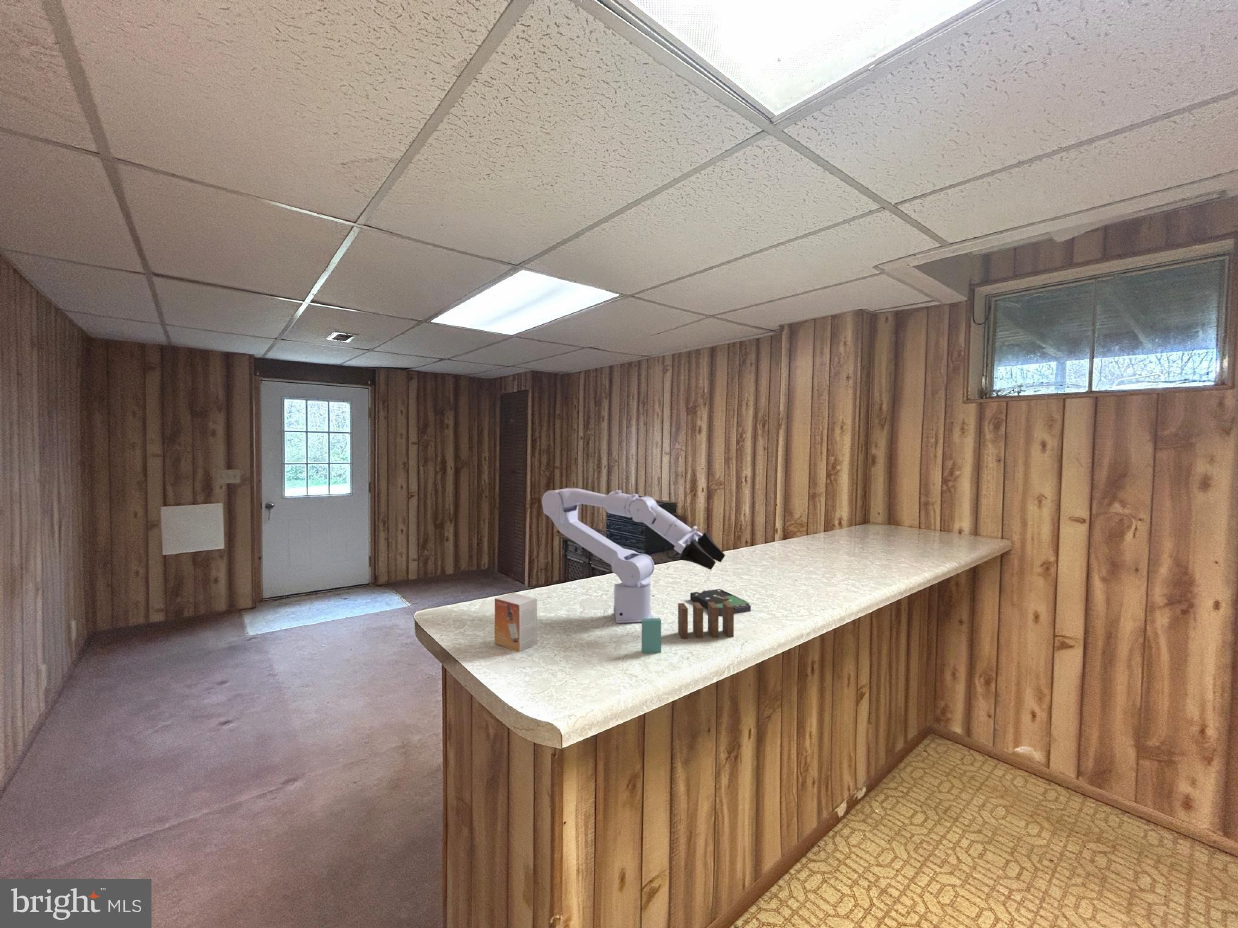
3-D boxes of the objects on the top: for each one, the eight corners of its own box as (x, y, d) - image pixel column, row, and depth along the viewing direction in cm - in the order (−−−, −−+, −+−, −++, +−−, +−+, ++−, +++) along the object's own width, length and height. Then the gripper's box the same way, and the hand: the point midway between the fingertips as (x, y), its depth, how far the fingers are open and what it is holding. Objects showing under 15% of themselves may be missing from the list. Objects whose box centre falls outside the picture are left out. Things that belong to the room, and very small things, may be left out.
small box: (494, 644, 111) (493, 597, 111) (512, 636, 116) (512, 591, 115) (519, 652, 107) (518, 604, 106) (537, 644, 111) (537, 597, 111)
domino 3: (712, 637, 114) (712, 607, 114) (707, 631, 118) (707, 602, 118) (718, 637, 115) (718, 607, 114) (713, 630, 119) (713, 601, 118)
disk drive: (689, 602, 142) (719, 618, 128) (689, 592, 142) (719, 607, 128) (719, 597, 146) (751, 612, 132) (719, 588, 146) (751, 602, 132)
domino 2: (697, 638, 114) (697, 608, 114) (693, 631, 118) (692, 602, 118) (703, 638, 114) (703, 607, 114) (698, 631, 118) (698, 602, 118)
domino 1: (681, 638, 114) (681, 608, 113) (678, 632, 118) (678, 603, 117) (687, 638, 114) (687, 608, 114) (683, 632, 118) (683, 602, 118)
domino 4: (727, 636, 115) (727, 607, 114) (722, 630, 119) (722, 601, 118) (733, 636, 115) (733, 606, 115) (728, 630, 119) (728, 601, 119)
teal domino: (661, 652, 107) (661, 620, 106) (642, 653, 106) (642, 620, 106) (659, 649, 108) (659, 617, 108) (641, 650, 108) (641, 618, 107)
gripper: (668, 520, 115) (717, 555, 110) (689, 511, 128) (735, 542, 123) (654, 544, 117) (702, 580, 112) (676, 534, 130) (720, 565, 124)
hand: (718, 562), depth 117 cm, fingers open, 7 cm apart
